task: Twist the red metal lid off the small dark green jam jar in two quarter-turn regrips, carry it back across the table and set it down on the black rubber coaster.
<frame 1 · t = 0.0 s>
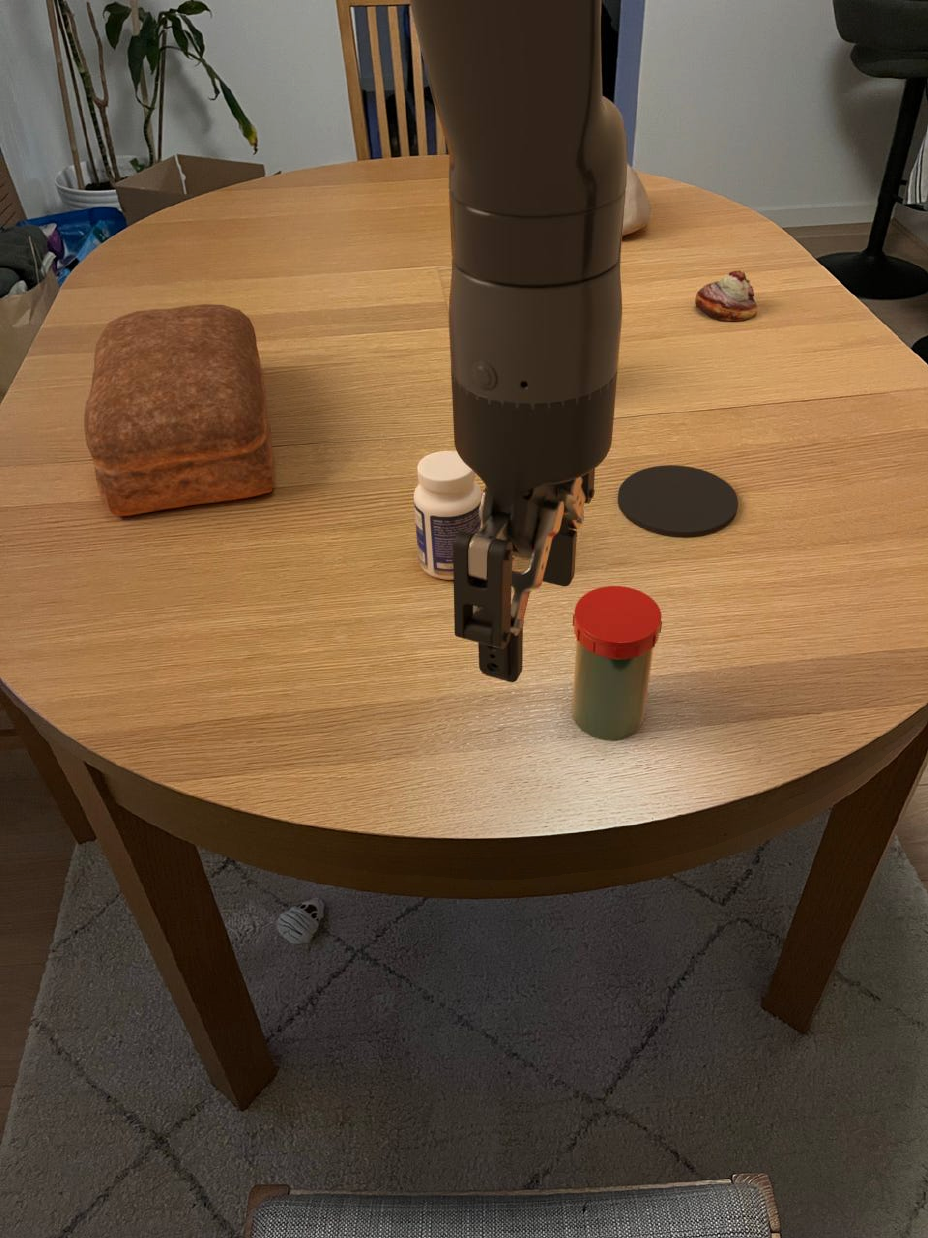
hand: (529, 624, 52), 15 cm above the table, tool pointing down, fingers open, 8 cm apart
jar: (607, 713, 68), on the table
decorative stone: (611, 223, 143), on the table
coaster: (676, 502, 87), on the table
pill bottle: (451, 563, 82), on the table
lid: (617, 617, 61), point 9 cm above the table, screwed on, not yet turned
coffee pot: (532, 372, 108), on the table
bread: (192, 438, 99), on the table
pastry: (724, 311, 119), on the table
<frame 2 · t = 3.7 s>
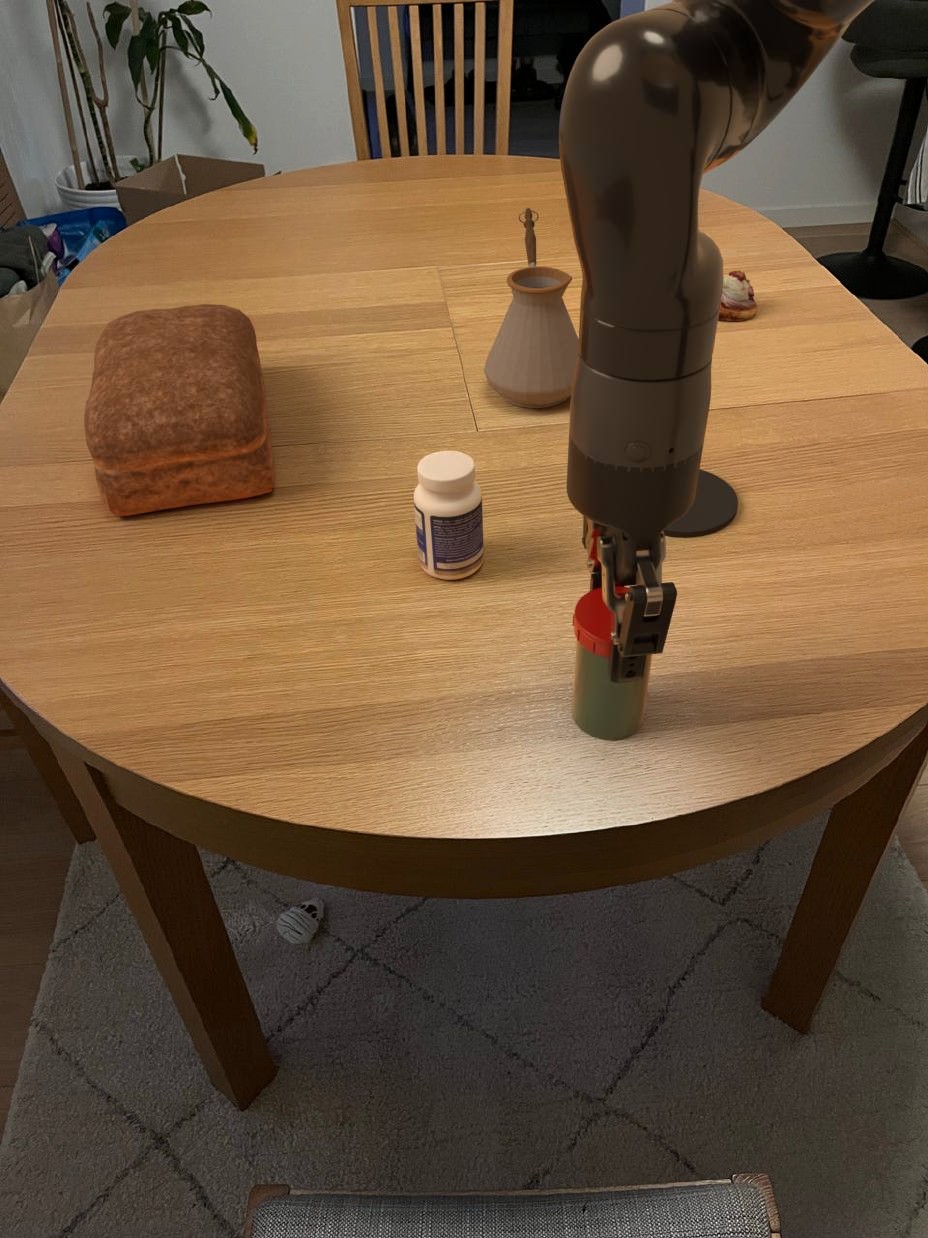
hand: (614, 644, 63), 7 cm above the table, tool pointing down, fingers closed on lid, 5 cm apart
lid: (617, 617, 61), point 9 cm above the table, screwed on, not yet turned, touching gripper
everything else where it was.
when the fingers open (6 cm above the table, at t = 6.1 s): lid stays where it is, point 10 cm above the table.
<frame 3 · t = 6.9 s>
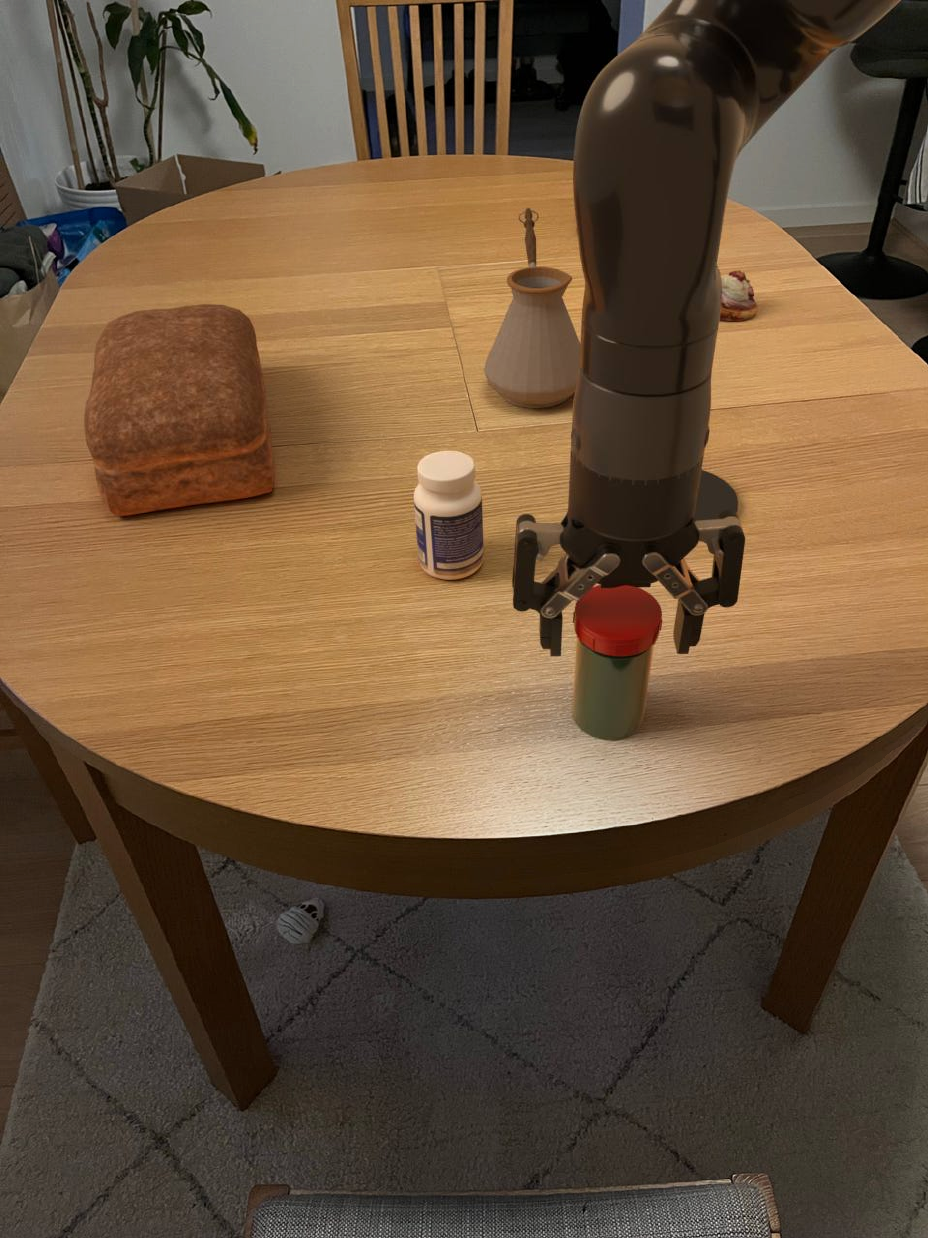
hand: (617, 647, 63), 6 cm above the table, tool pointing down, fingers open, 8 cm apart
lid: (617, 614, 61), point 10 cm above the table, turned 89° so far, risen 0.2 cm, still on its thread
everything else where it was.
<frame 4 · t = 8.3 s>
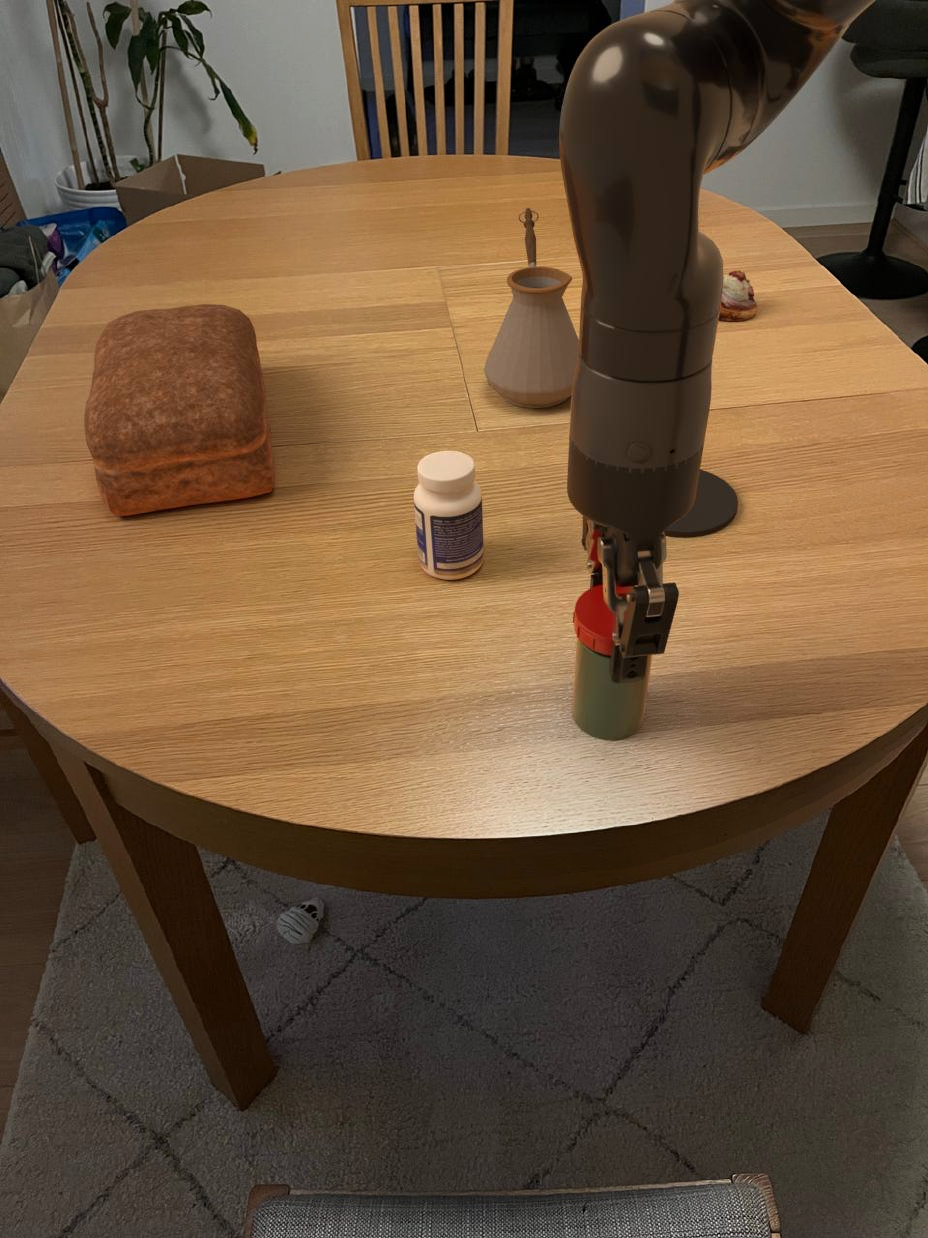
hand: (614, 645, 63), 7 cm above the table, tool pointing down, fingers closed on lid, 5 cm apart
lid: (617, 614, 61), point 10 cm above the table, turned 89° so far, risen 0.2 cm, still on its thread, touching gripper
everything else where it was.
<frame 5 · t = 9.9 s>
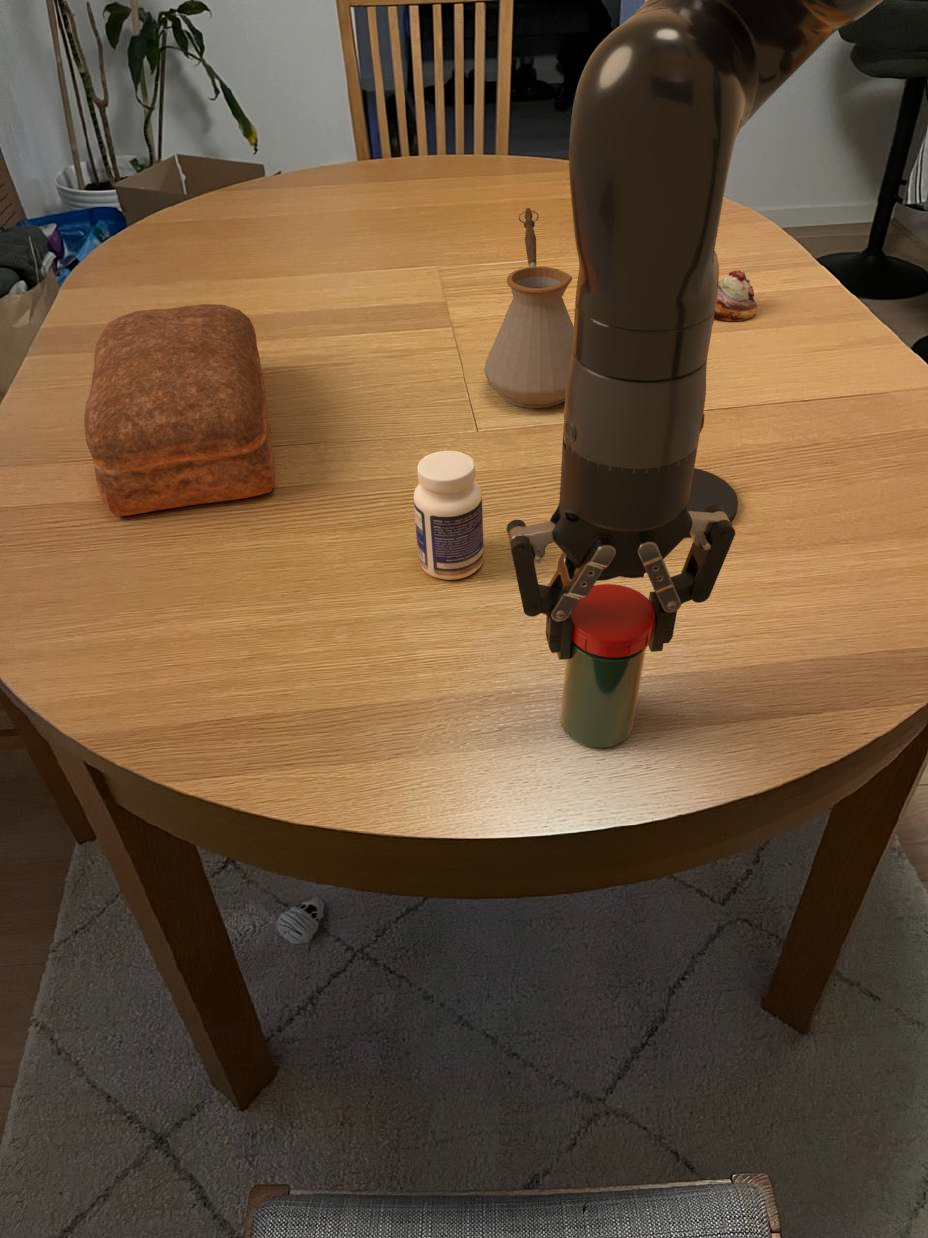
hand: (607, 646, 63), 7 cm above the table, tool pointing down, fingers closed on lid, 5 cm apart
jar: (596, 721, 67), on the table, touching gripper, lid
lid: (611, 615, 61), point 10 cm above the table, off its thread, touching gripper, jar
everything else where it was.
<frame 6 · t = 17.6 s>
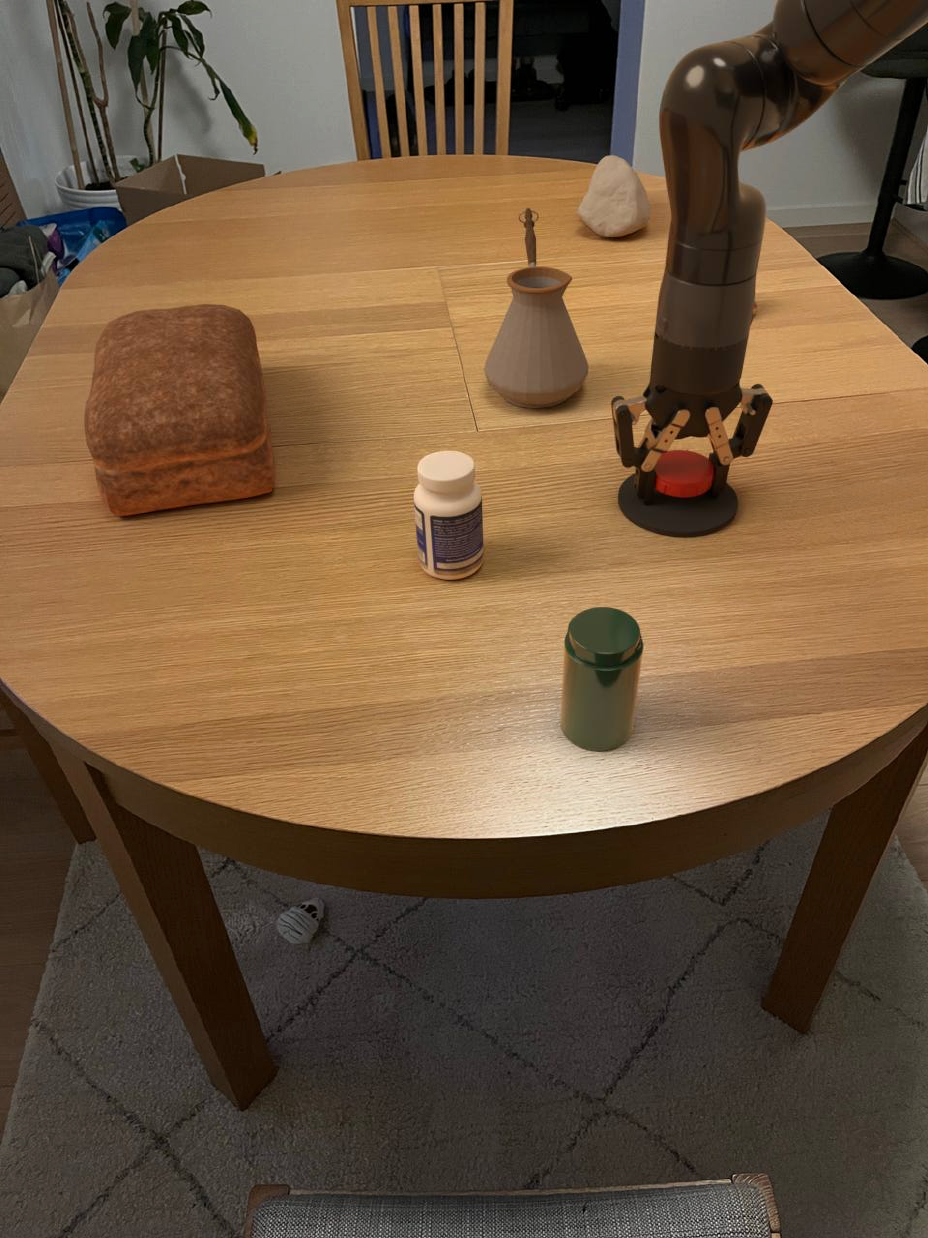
hand: (677, 495, 87), 1 cm above the table, tool pointing down, fingers closed on lid, 5 cm apart
jar: (596, 723, 67), on the table
lid: (681, 469, 85), point 3 cm above the table, off its thread, touching gripper
everything else where it was.
when the fingers open (2 cm above the table, at t = 27.8 s): lid drops 3 cm, resting on coaster.
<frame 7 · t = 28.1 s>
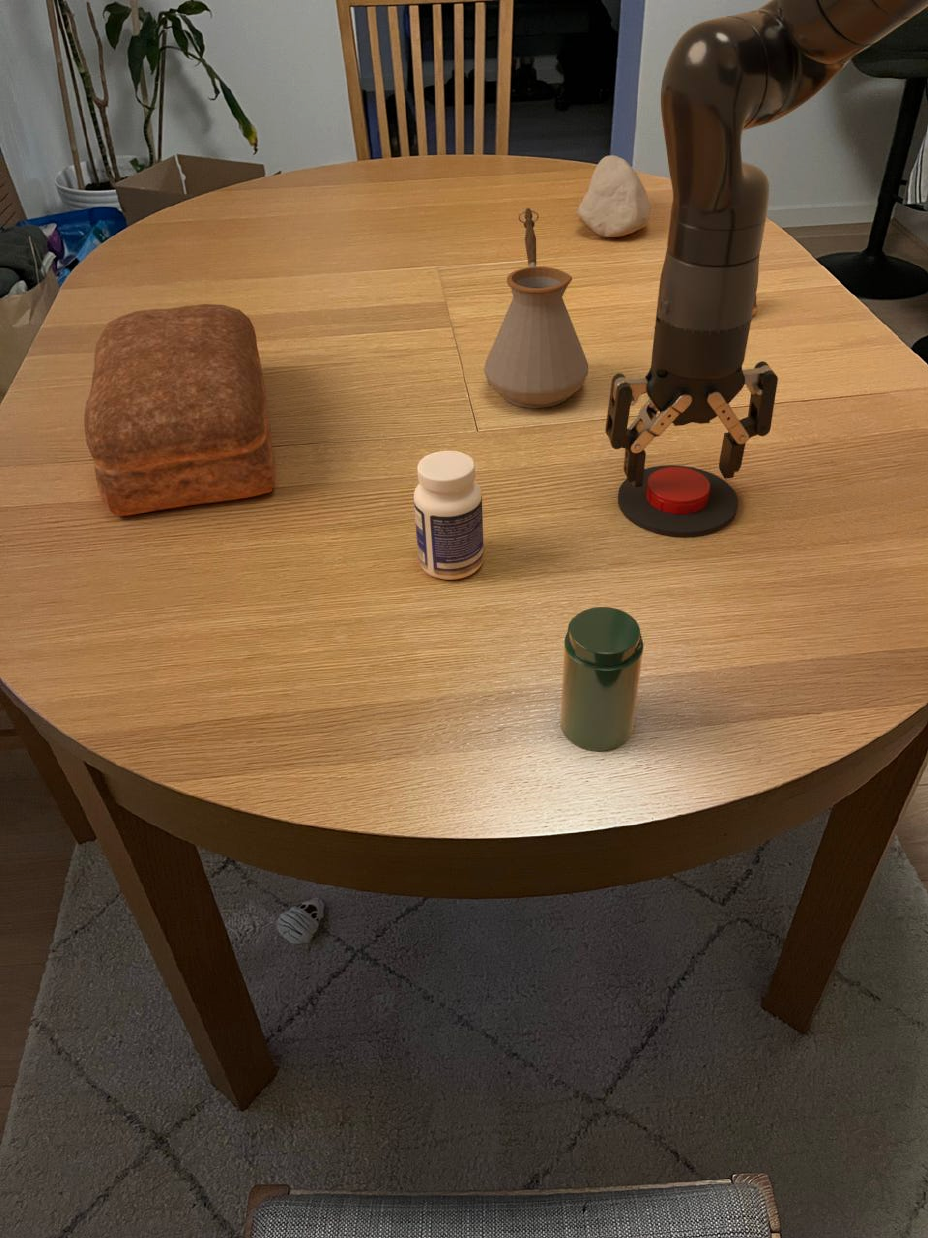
hand: (680, 478, 85), 3 cm above the table, tool pointing down, fingers open, 8 cm apart
lid: (678, 487, 86), point 2 cm above the table, off its thread, touching coaster
everything else where it was.
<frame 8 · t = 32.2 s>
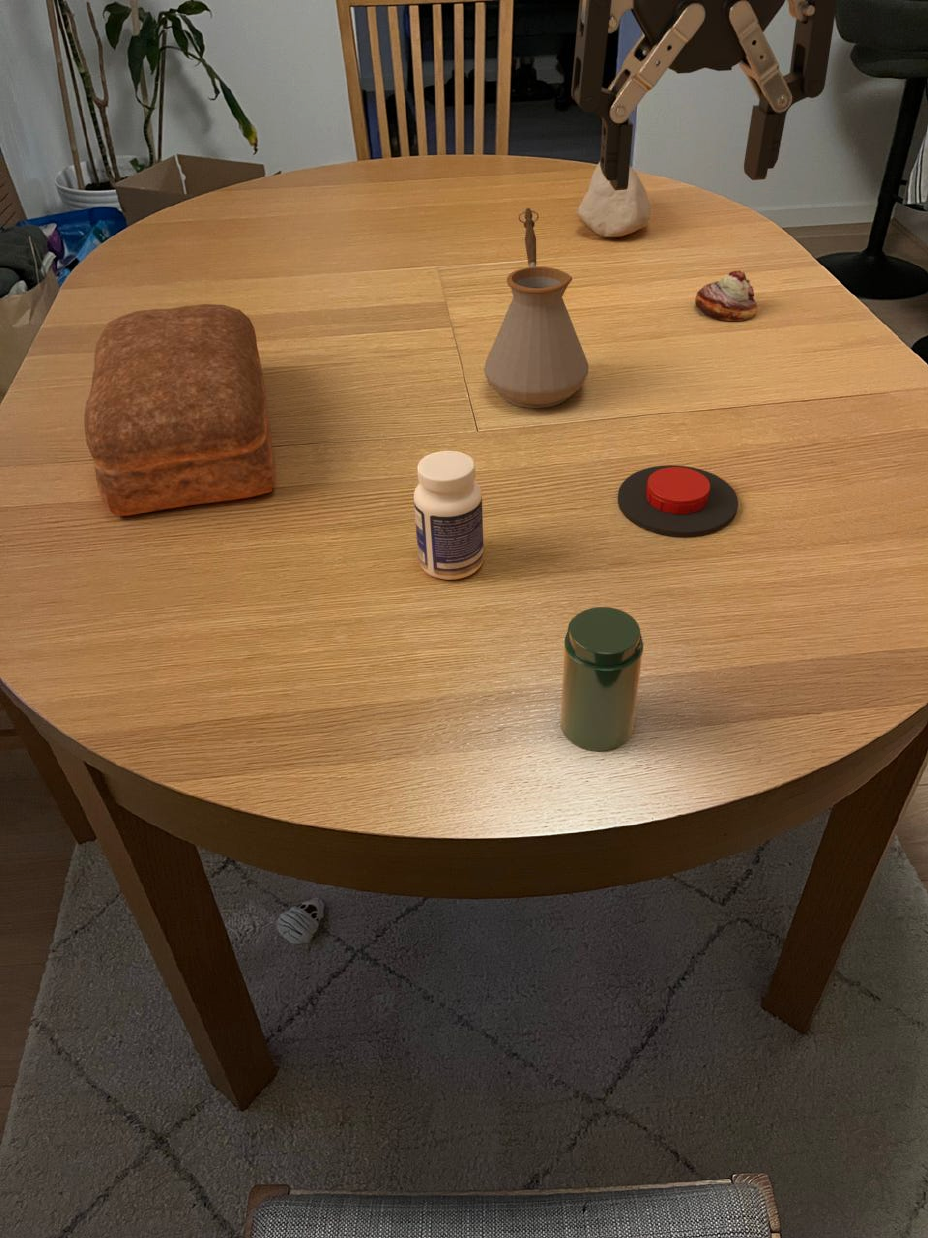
hand: (685, 181, 57), 32 cm above the table, tool pointing down, fingers open, 8 cm apart
nothing on the table moved.
at the end: lid inside the target area on the coaster (0.1 cm from its centre), point 1.7 cm above the coaster's base; the gripper is holding nothing; jar tilted 0° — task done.
